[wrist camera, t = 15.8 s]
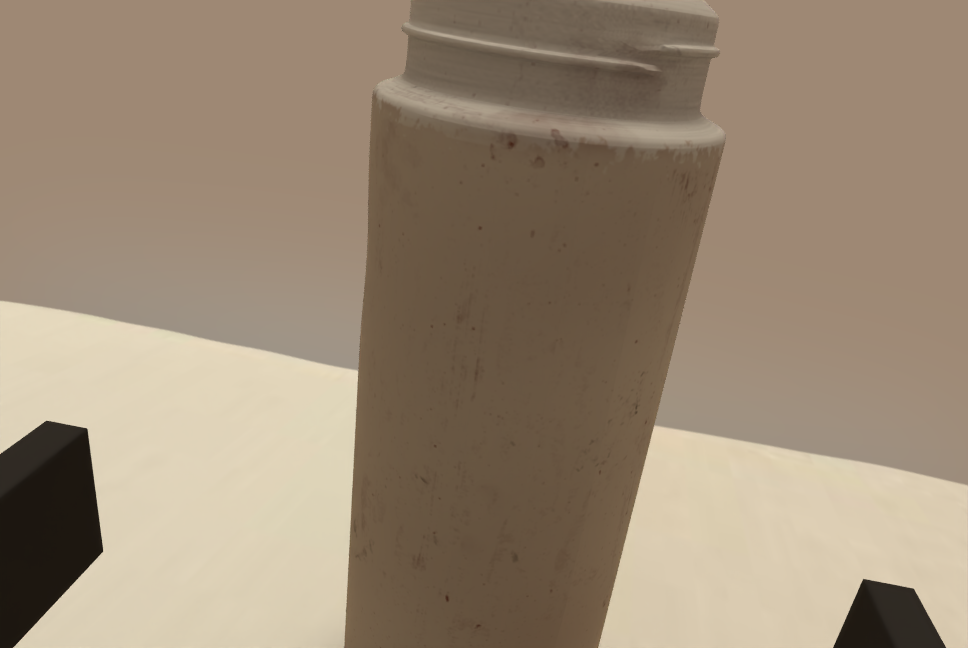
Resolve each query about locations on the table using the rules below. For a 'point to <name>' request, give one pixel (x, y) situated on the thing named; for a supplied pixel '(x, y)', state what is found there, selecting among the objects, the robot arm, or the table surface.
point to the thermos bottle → (520, 310)
